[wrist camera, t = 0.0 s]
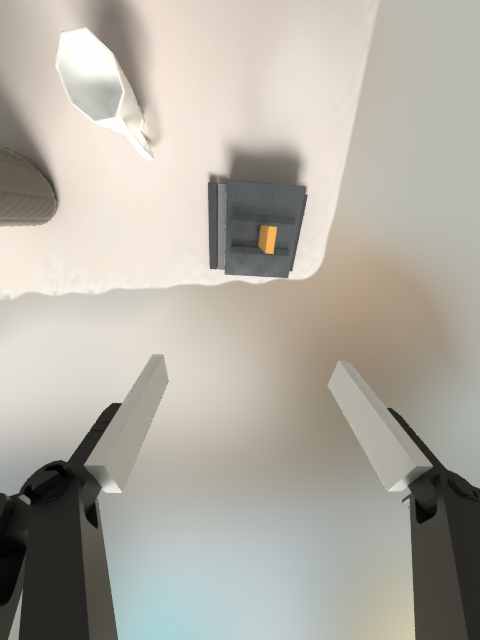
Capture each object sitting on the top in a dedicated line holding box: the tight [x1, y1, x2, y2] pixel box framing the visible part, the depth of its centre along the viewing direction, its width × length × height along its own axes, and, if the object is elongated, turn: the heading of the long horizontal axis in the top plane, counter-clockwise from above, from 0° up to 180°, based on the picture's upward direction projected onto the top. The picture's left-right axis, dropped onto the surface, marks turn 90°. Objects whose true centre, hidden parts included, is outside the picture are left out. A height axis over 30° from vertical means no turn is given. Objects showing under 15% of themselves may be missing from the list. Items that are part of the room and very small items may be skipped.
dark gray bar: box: [289, 195, 308, 271], centre depth 34 cm, size 13×1×1 cm, turn 176°
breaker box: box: [224, 180, 306, 278], centre depth 31 cm, size 14×12×6 cm
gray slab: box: [208, 183, 227, 270], centre depth 33 cm, size 14×3×1 cm, turn 176°
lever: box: [258, 225, 277, 254], centre depth 25 cm, size 3×1×9 cm, turn 176°
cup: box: [55, 27, 154, 161], centre depth 23 cm, size 7×10×8 cm
